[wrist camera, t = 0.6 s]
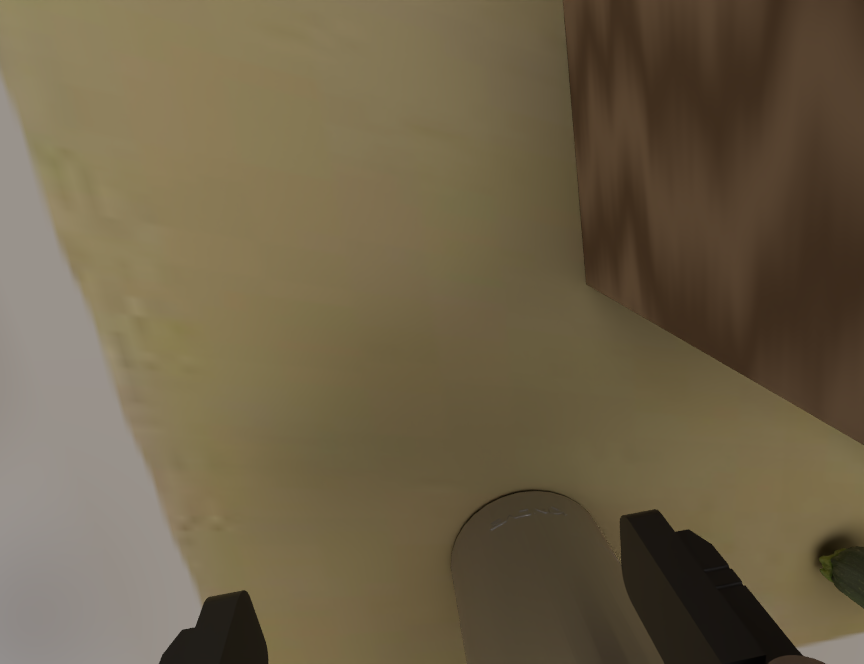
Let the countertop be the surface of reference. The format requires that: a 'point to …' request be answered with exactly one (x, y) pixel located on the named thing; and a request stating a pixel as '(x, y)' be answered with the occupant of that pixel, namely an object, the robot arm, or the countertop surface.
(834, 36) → the pedestal
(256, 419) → the countertop surface
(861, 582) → the vegetable
